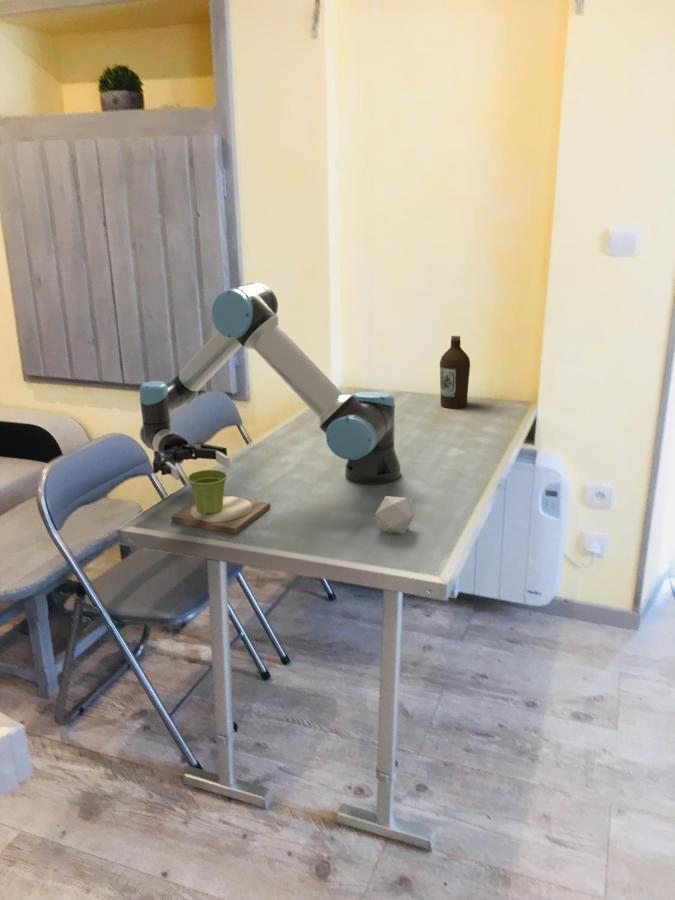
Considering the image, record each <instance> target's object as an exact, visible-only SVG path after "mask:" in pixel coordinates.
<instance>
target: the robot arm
mask: <svg viewBox="0 0 675 900" xmlns="http://www.w3.org/2000/svg"><path fill="white" fill-rule="evenodd" d="M278 309H279V304H278V299H277V296H276V294H275V293H274V291H273V290H272V289H271V288H270V287H269V286H267V285H265V284H264V283H258V282H251V283H248V284H244V285H240V286H237V287H230V288H228V289H226V290H225V291H222V292H220V293H219V294H218V295H216V297H215V299H214V301H213V302H212V307H211V320H212V323H213V326H214V328H215V329H216V330H217V331H216V332H215V333H214V334H213V335H212V336H211V338H210V339H209V340H208V341H206V343H205V344H204V345H203V346H202V347H201V348H200V349H199V351H197V353H196V354H195V355H194V356H193V357H192V358H191V359H190V360H189V362H187V363H186V365H185V366H184V367H183V368H182V369H181V370H180V371H179V372H178V374H176V375H175V377H174V378H173V379H172V380H171V381H169V382H167V383H166V382H164V381H162V380H153V381H148V382H147V381H146V382H143V383H142V384H141V385H140V386H139V403H140V409H141V416H142V417H141V418H142V426H141V428H140V431H139V438H140V440H141V442H142V443H143V444H144V446H146V447H147V448H148V449H150V450H152V451H153V460H152V470H153V471H152V472H153V474H157V473H159V472H161V475H162V476H165V475H170V476H171V477H172V478H173V479H175V480H176V481H179V480H180V470H179V469H180V468H178V467H177V466H176V464H178V463H181V462H183V461H186V460H187V461H188V460H194V461H195V460H198V459H203V460H206V459H207V460H215V461H216V462H217V463H218V464H220V465H221V466H223V467H224V468H226V469H230V467H231V466H230V457H229V456H228V451H227V449H228V448H227V447H223V446H217V445H213V444H206V443H204V442H198V443H197V445H191V444H189V441H188V440H186V439H185V438H184V437H183V436H181V435H180V434H178V433H177V432H175V431H173V430H172V427H171V426H172V424H171V412H172V411H173V410H175V409H177V408H179V407H181V406H184V405H186V404H189V403H190V402H191V401H193V400H194V399H196V397H197V396H198V395H199V391H200V390H201V388H203V387H204V385H205V384H207V382H208V381H209V380H210V379H211V378H212V377H213V376H214V375H215V374H216V373H218V371H219V370H220V369H221V368H222V367H223V365H225V364H226V363H227V362H228V360H229V359H231V357H233V355H234V354H235V353H236V352H237V351H238V350H240V348H241V347H243V348H244V349H248V350H254V351H255V352H256V353H257V354H258V355H259V356H260V357H261V358H262V359H263V361H265V363H267V364H268V365H269V367H270V368H271V369H272V370H273V371H274V373H276V374H277V375H278V376H279V377H280V378H281V380H282V381H283V382H285V384H287V386H288V387H289V388H290V389H291V390H292V391H293V392H294V393H295V394H296V396H298V397H299V399H301V401H302V402H303V403H304V404H305V405H306V406H307V407H308V408H309V409H310V410H311V412H313V414H315V416H317V418H318V427H319V428H320V429H321V430H322V431H323V432H324V434H325V437H326V444H327V446H328V448H329V449H330V451H331V452H332V453H333V454H334V455H336V457H339V458H341V459H344V460H347V461H346V464H345V477H346V478H347V479H349V480H350V481H352V482H354V483H359V484H366V485H379V484H380V485H381V484H387V483H390V482H394V481H395V480H398V479H399V478H400V476H401V463H400V461H399V459H398V455H397V453H396V449H395V409H396V405H395V397H394V396H393V395H392V394H390V393H386V392H378V391H375V392H374V391H360V392H355V393H352V394H344V393H343V392H342V391H341V390H340V389H339V388H338V387H337V386H336V385H335V384H334V382H332V381H331V380H330V379H329V377H328V376H327V375H325V373H324V372H323V371H322V370H321V369H320V368H319V367H318V366H317V365H316V364H315V362H314V361H312V359H310V357H309V356H308V355H307V354H306V353H305V352H304V351H303V350H302V349H301V347H299V346H298V344H297V343H295V342H294V341H293V339H292V338H290V336H289V335H288V334H287V333H286V332H285V331H284V330H283V329H282V328H281V327H280V325H279V316H278V311H279V310H278Z"/></svg>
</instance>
